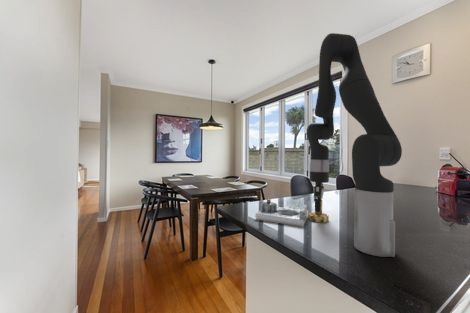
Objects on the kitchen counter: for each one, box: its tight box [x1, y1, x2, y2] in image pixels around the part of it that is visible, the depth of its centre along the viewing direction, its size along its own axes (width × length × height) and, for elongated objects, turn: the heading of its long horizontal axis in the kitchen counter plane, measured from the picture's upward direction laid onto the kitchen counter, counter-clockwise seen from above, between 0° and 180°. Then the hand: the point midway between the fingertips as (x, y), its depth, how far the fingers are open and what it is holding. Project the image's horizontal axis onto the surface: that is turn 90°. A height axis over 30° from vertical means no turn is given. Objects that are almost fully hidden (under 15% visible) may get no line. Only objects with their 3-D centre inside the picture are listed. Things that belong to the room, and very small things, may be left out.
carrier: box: [255, 198, 309, 228], centre depth 90 cm, size 19×16×7 cm
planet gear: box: [307, 199, 330, 223], centre depth 88 cm, size 8×8×8 cm
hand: (318, 209), depth 88 cm, fingers open, 7 cm apart
